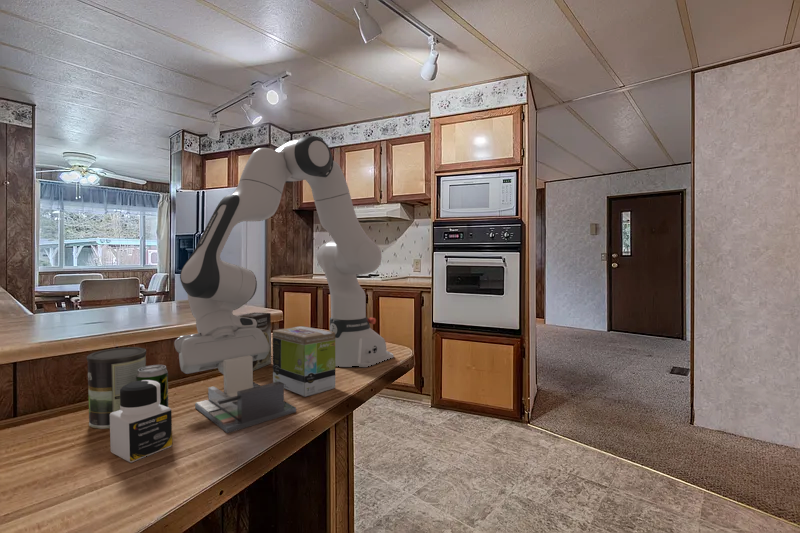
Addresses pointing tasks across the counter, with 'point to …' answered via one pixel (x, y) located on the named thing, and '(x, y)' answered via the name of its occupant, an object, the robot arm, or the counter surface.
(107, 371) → the coffee can
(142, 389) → the medicine bottle
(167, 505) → the counter surface
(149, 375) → the green drink can
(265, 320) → the coffee box
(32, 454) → the counter surface
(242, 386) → the plunger
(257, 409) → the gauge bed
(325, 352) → the tea box
